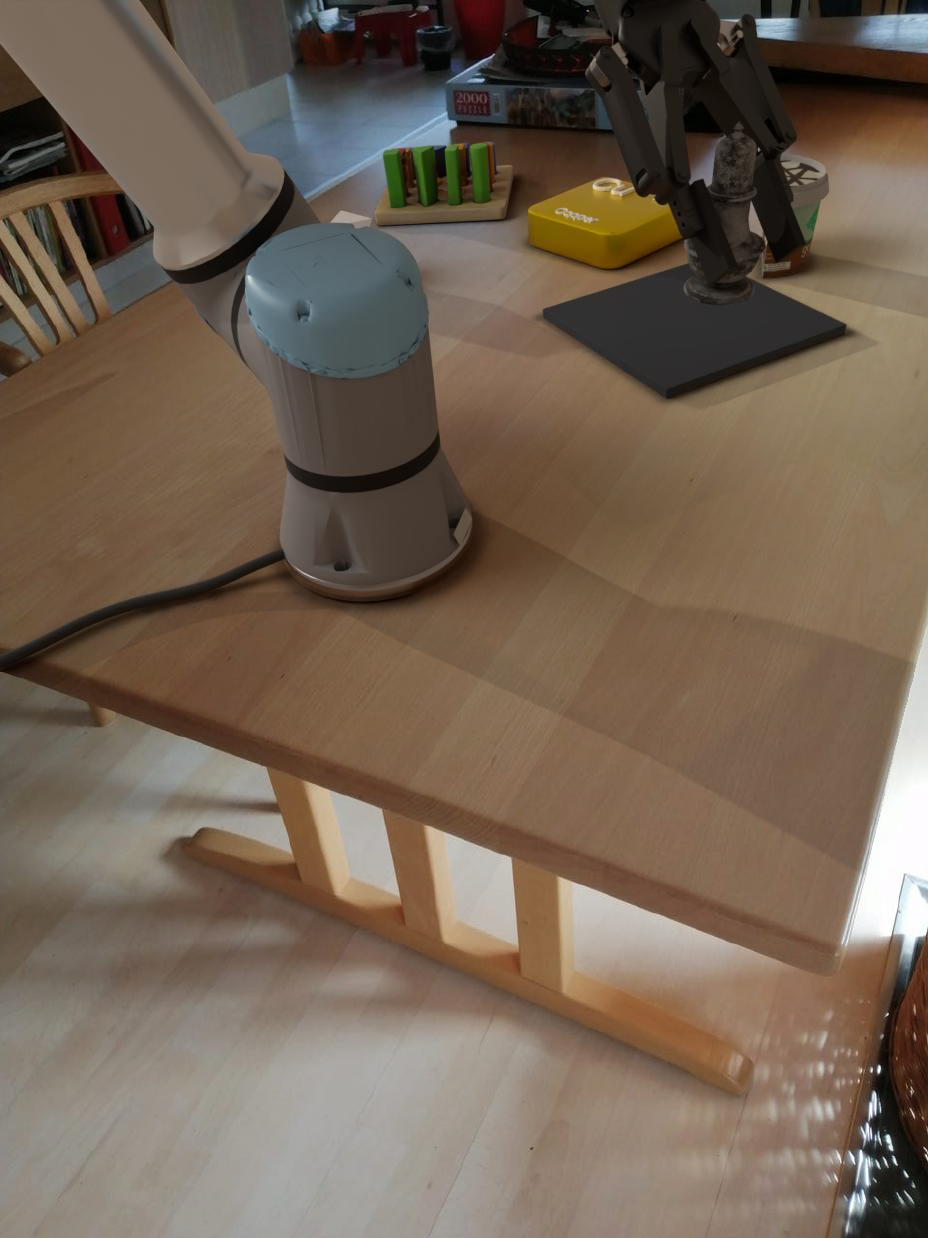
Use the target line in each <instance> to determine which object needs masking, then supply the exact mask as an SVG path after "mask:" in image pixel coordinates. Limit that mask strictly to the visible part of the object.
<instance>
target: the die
mask: <svg viewBox="0 0 928 1238" xmlns="http://www.w3.org/2000/svg"><path fill="white" fill-rule="evenodd" d="M329 223H351V224H353V225H354V227H355V228H362V227H364V226H369V227H372V228H375V229H378V230H381V229H380V227H379V225H377V224H376V221H374V219H373V218H371V217H367V216H364V215H360V214H356V213H352V212H349V211H345V210H341V209H340V210H339V212H338V213H337V214H336V215H335V216H334V218H333V219H332V220H331V221H330V222H329Z"/></svg>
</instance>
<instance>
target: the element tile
mask: <svg viewBox="0 0 928 1238" xmlns="http://www.w3.org/2000/svg"><path fill="white" fill-rule="evenodd" d="M655 196H656V195H651V194H649V195H648V196H647V197H640V196H639V195H637V193H636V192H635V189H634V186H633V184H632V182H629V181H626V180H621V179H618V178H614V177H608V176H602V177H598V178H595V179H593V180H591V181H589V182H586V183H584V184H581V185H579V186H576V187H574V188H571V189H568V190H565V191H564V192H562V193H560V194H556V195H555V196H552V197H549V198H547V199H544V200H542V201H540V202H537V203H535V204H532V205H530V206H529V207H528V209H527V223H528V225H527V227H528V228H527V229H528V242H529V244H530V245H531V246H532V247H534V248H537V249H540V250H544V251H547V252H550V253H553V254H556V255H558V256H562V257H565V258H568V259H572V260H574V261H577V262H580V263H584V264H586V265H589V266H592V267H594V268H598V269H604V270H615V269H620V268H623V267H625V266H627V265H629V264H631V263H634V262H636V261H638V260H640V259H642V258H644V257H646V256H648V255H650V254H652V253H654V252H657V251H658V250H661V249H663V248H665V247H667V246H669V245H672V244H673V243H675V242H677V241H680V240H682V239H684V238H683V237H682V236H681V234H680V232H679V230H678V226H677V225H676V221H675V220H674V217H673V214H672V212H671V209H670V207H669V204H668V203H667V204H666V205H659V204H658V203H657V202H656V201H655V199H654V197H655Z"/></svg>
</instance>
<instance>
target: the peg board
mask: <svg viewBox="0 0 928 1238" xmlns="http://www.w3.org/2000/svg"><path fill="white" fill-rule="evenodd" d="M495 145H496V144H495V142H493V141H485V142H484V141H483V142H477V143H473V144H471V145H470V146H469V143H468V142H461V143H460V142H459V143H454V144H448V145H446V144H444V145H441V144H440V145H439V144H436V145H432V144H431V145H423V146H409V147H397V148H390V149H385V150H384V151H383V153H382V159H383V160H382V161H383V166H384V172H385V179H386V187H385V190H384V192H383V194H382V196H381V198H380V200H379V202H378V204H377V206H376V208H375V211H374V219H375V221H374V222H375V223H376V225H377V226H392V225H414V224H433V223H435V224H436V223H437V224H438V223H451V222H452V223H453V222H473V221H492V220H493V221H494V220H504V219H505V218H506V217H507V212H508V207H509V202H510V195H511V190H512V185H513V181H514V166H513V165H511V164H505V165H497V158H496V157H497V156H496V146H495Z"/></svg>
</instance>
